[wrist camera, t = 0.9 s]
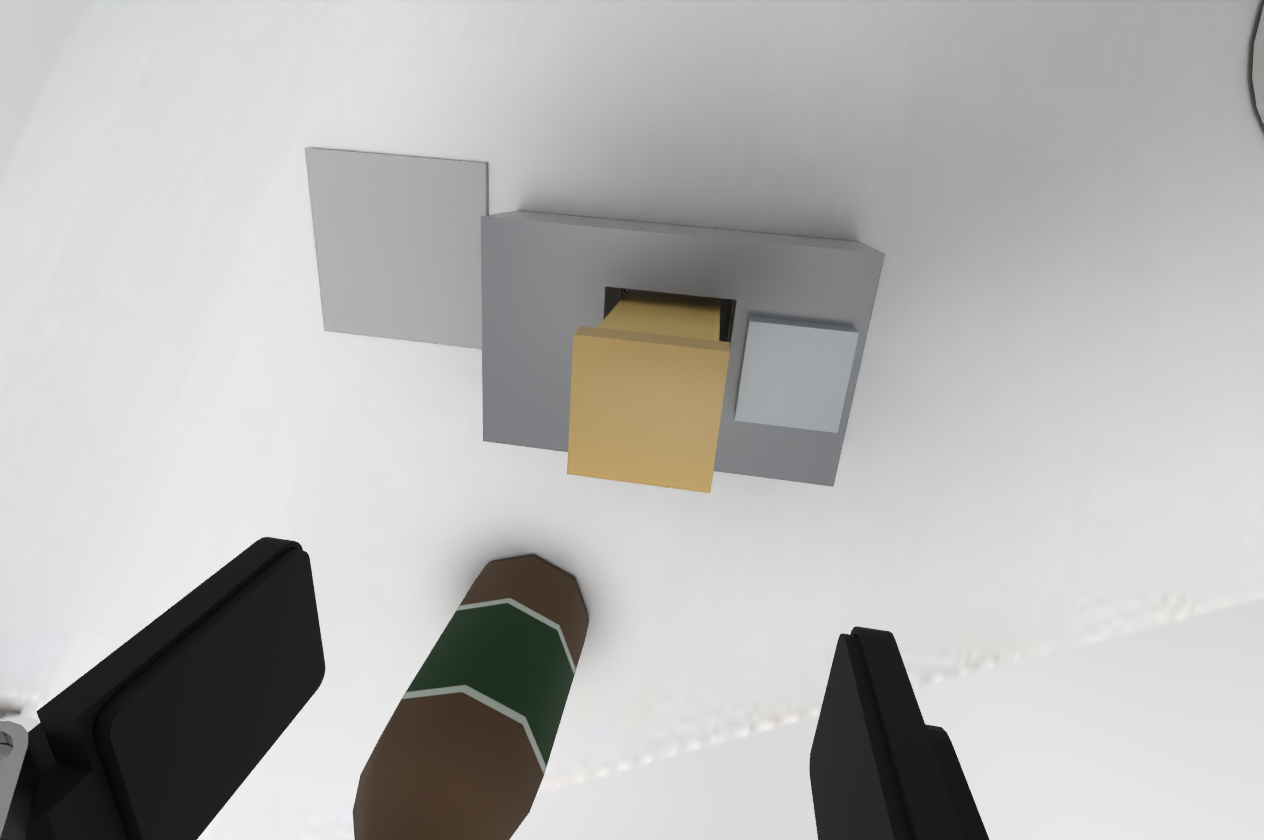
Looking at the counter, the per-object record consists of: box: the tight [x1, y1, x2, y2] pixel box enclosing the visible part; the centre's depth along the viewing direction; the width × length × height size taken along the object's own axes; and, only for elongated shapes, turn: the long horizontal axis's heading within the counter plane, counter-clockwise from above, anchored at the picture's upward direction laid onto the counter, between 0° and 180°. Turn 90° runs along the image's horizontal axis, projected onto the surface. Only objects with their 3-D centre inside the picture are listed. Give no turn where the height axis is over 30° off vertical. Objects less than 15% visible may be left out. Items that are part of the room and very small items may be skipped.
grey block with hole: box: [481, 211, 885, 486], centre depth 28 cm, size 16×10×6 cm, turn 86°
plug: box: [567, 289, 730, 493], centre depth 26 cm, size 5×5×12 cm
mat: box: [305, 148, 488, 349], centre depth 31 cm, size 9×9×1 cm
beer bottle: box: [353, 555, 589, 840], centre depth 27 cm, size 8×8×24 cm
